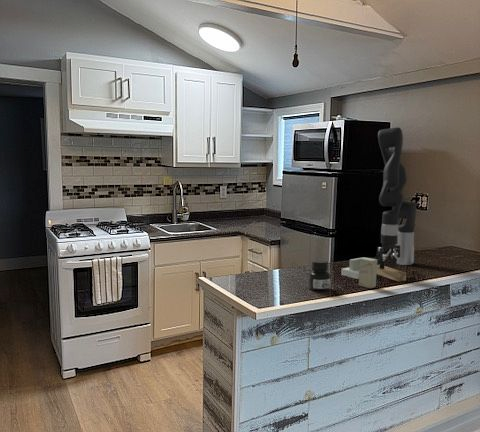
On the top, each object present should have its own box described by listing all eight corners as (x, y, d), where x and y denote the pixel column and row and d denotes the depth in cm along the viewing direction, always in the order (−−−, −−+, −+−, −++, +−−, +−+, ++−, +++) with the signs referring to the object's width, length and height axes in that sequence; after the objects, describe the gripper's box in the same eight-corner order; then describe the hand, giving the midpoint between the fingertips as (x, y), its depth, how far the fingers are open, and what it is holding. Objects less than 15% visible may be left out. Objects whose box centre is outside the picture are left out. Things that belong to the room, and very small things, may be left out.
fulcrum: (358, 271, 227) (358, 255, 226) (374, 275, 219) (375, 259, 218) (341, 274, 220) (341, 258, 219) (357, 279, 212) (357, 262, 211)
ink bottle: (315, 292, 190) (315, 264, 189) (304, 287, 198) (304, 260, 197) (334, 290, 194) (335, 262, 192) (323, 285, 202) (323, 258, 201)
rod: (379, 272, 226) (379, 264, 225) (405, 281, 209) (406, 272, 209) (372, 273, 224) (373, 265, 224) (398, 282, 208) (399, 273, 207)
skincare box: (358, 285, 200) (359, 258, 199) (364, 284, 203) (364, 257, 202) (371, 288, 196) (372, 260, 195) (376, 286, 199) (377, 259, 198)
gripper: (392, 231, 222) (391, 264, 223) (372, 233, 214) (371, 268, 216) (406, 233, 215) (404, 267, 217) (385, 235, 208) (384, 271, 209)
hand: (387, 267), depth 216 cm, fingers open, 8 cm apart
